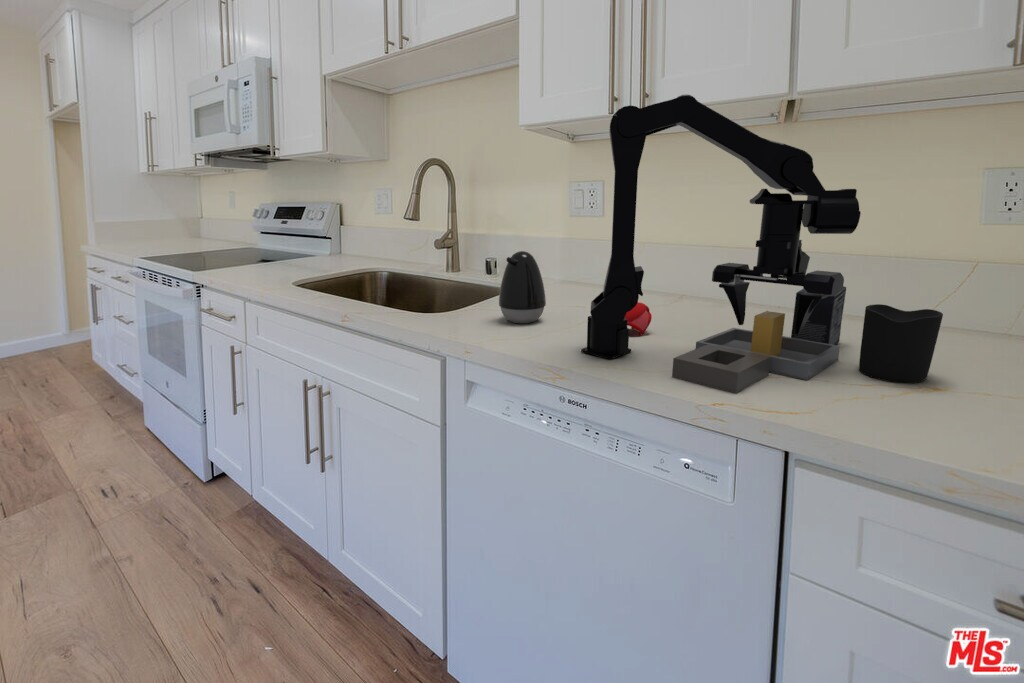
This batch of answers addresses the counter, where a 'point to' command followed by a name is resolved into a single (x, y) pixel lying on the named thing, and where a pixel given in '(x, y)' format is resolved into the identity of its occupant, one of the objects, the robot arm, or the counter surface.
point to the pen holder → (898, 343)
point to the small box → (822, 319)
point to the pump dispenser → (522, 289)
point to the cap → (639, 318)
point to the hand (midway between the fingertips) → (768, 329)
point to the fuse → (768, 333)
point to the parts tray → (782, 353)
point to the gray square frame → (721, 367)
